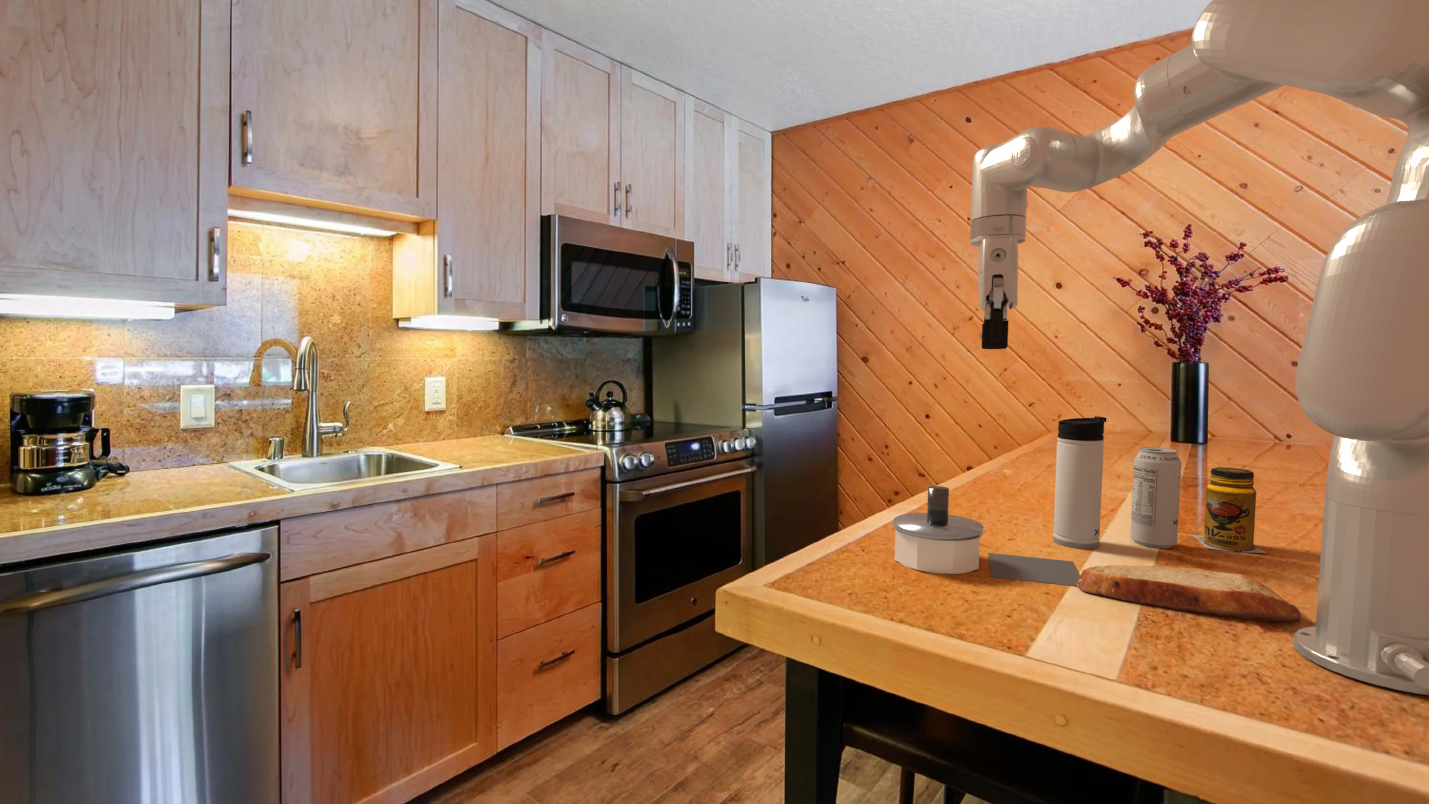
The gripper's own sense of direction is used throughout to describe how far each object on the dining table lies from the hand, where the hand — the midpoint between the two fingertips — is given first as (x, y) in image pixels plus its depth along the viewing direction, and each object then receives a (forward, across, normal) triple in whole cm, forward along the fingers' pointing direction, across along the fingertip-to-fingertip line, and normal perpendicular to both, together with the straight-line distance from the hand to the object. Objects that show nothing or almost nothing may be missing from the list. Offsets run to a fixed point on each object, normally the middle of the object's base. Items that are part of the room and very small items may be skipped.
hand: (993, 348), depth 99 cm
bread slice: (+30, -16, -21) cm, 40 cm away
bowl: (+30, -11, +7) cm, 33 cm away
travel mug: (+31, +6, -13) cm, 34 cm away
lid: (+25, -11, +7) cm, 28 cm away
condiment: (+31, +15, -35) cm, 49 cm away
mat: (+30, -10, -6) cm, 32 cm away
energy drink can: (+31, +10, -24) cm, 40 cm away
